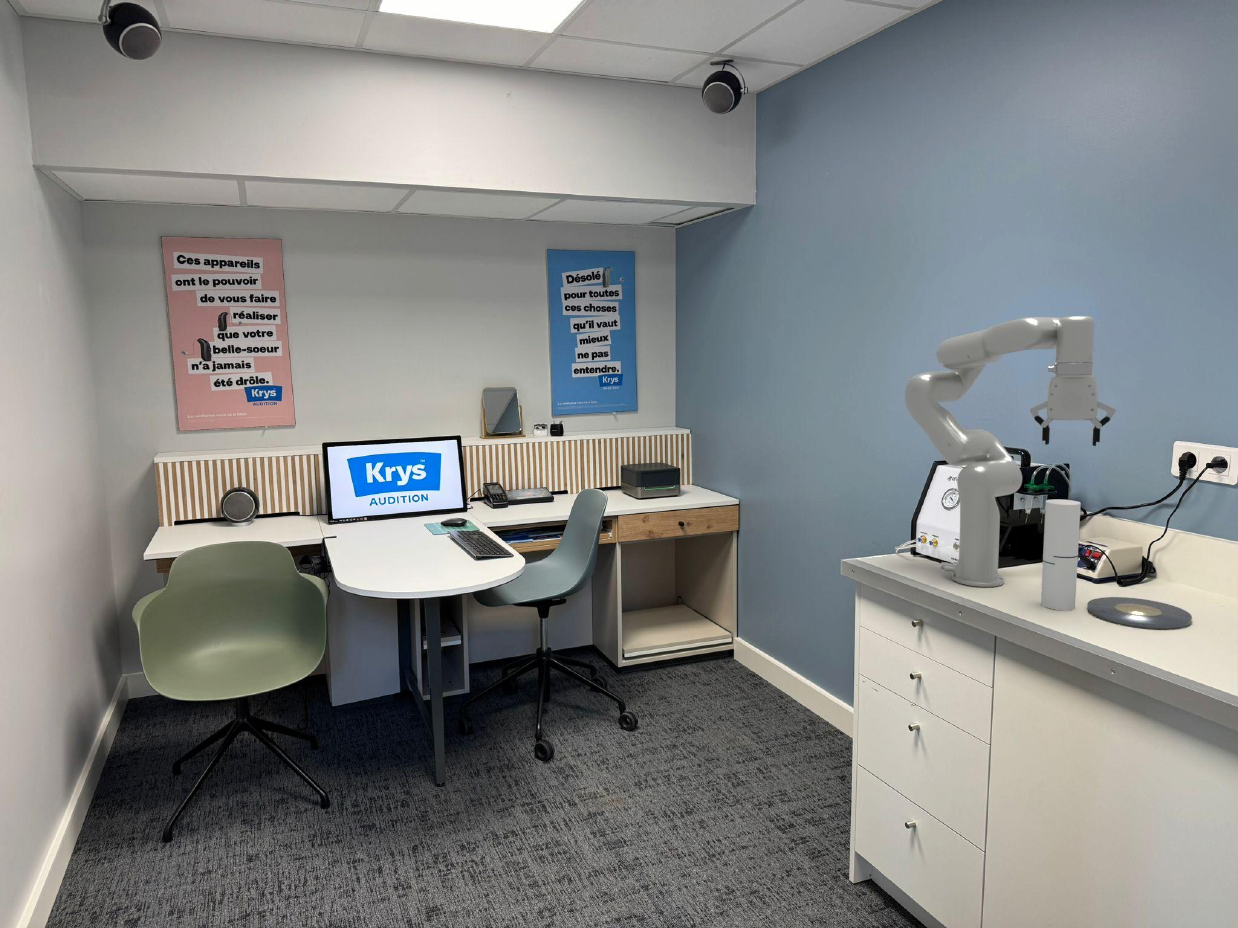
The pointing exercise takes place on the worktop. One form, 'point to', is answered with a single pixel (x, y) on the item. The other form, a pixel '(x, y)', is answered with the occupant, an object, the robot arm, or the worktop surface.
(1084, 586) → the worktop surface
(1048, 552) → the cylindrical container
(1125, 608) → the plate
